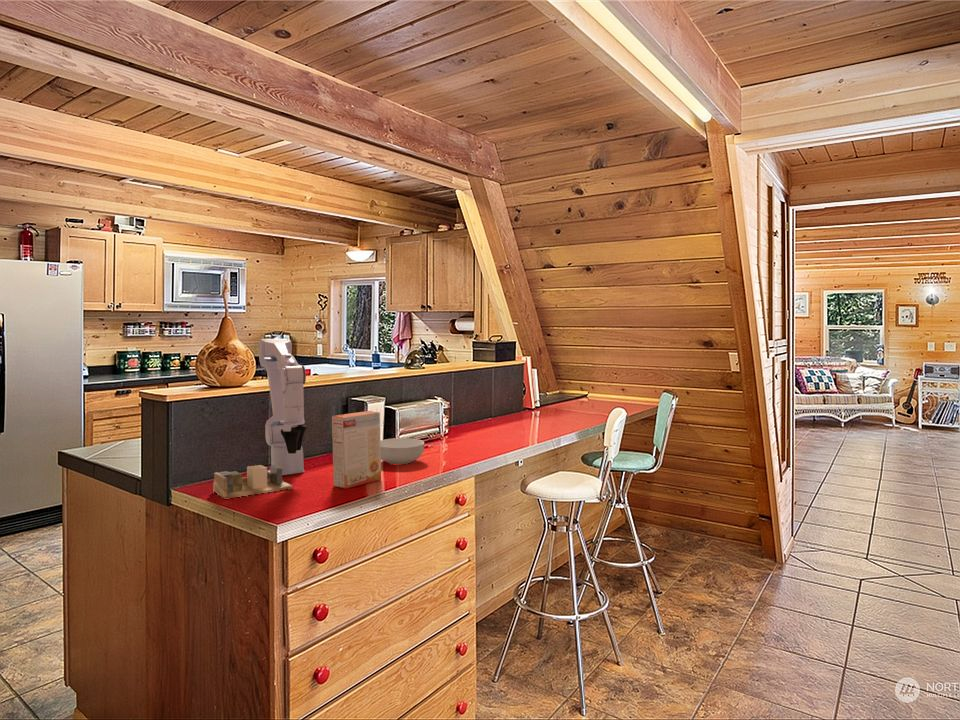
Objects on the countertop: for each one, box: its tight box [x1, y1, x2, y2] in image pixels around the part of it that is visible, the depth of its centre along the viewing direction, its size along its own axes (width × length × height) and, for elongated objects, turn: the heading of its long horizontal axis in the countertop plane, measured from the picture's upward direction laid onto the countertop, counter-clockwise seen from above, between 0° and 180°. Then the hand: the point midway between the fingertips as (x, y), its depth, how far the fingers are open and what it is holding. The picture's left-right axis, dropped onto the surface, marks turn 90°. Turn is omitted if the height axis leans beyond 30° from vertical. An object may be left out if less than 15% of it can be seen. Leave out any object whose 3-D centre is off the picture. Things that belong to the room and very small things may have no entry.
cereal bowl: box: [380, 437, 425, 465], centre depth 218 cm, size 17×17×7 cm
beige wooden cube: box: [246, 464, 268, 489], centre depth 183 cm, size 4×5×6 cm
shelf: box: [212, 470, 294, 500], centre depth 181 cm, size 19×10×6 cm, turn 129°
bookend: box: [269, 465, 283, 484], centre depth 186 cm, size 2×5×4 cm, turn 39°
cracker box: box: [331, 410, 382, 490], centre depth 189 cm, size 14×6×21 cm, turn 141°
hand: (294, 451), depth 189 cm, fingers open, 4 cm apart
